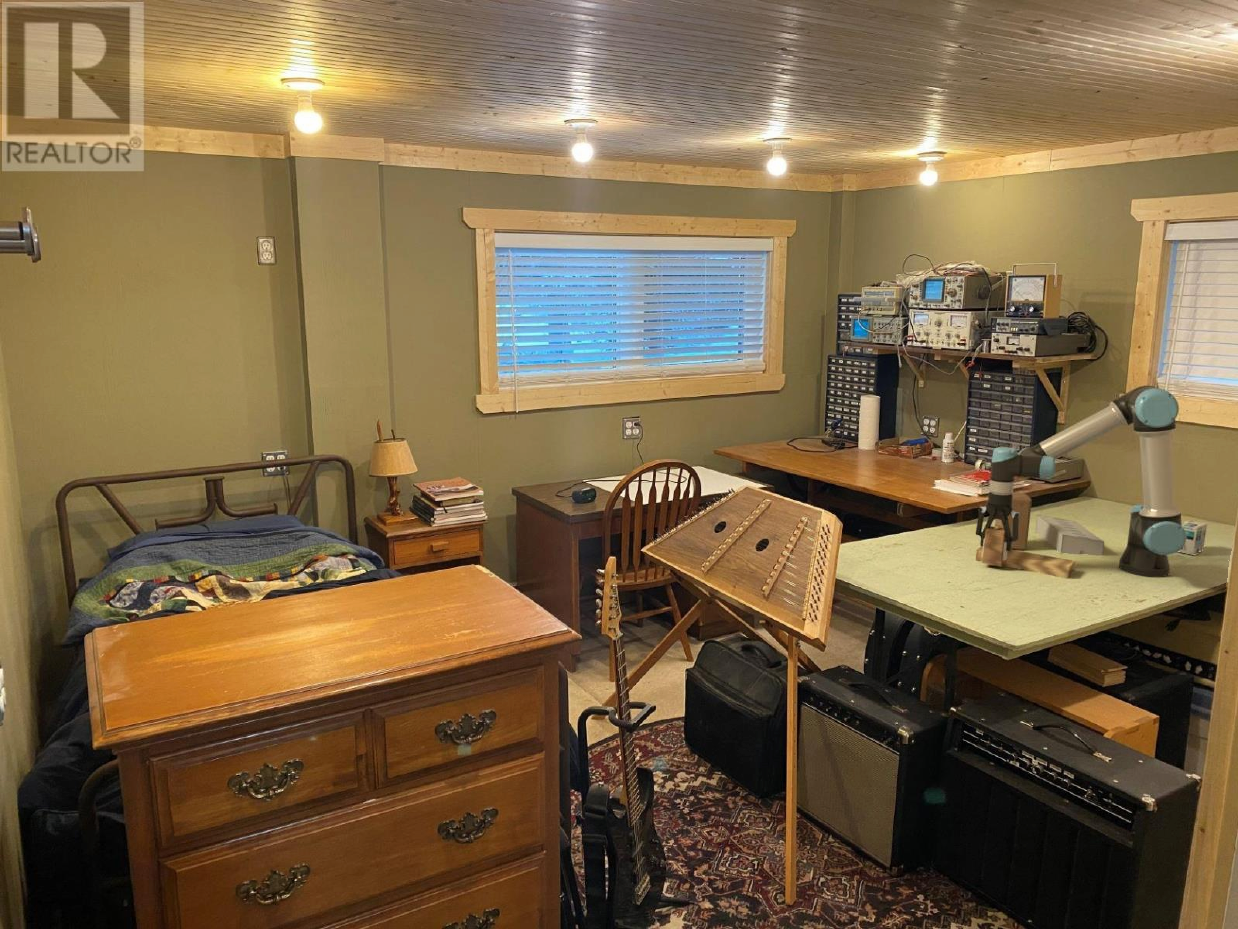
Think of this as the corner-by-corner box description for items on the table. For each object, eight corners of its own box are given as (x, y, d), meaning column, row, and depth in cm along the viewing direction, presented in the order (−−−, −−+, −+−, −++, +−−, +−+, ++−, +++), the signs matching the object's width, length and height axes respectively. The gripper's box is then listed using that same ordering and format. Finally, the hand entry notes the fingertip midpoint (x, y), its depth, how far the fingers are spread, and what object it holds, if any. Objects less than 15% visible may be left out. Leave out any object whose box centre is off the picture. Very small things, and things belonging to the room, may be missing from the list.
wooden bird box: (1012, 556, 311) (1016, 520, 309) (1000, 566, 300) (1004, 529, 297) (995, 553, 315) (998, 518, 312) (982, 563, 303) (985, 526, 301)
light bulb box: (1193, 556, 320) (1197, 528, 318) (1173, 552, 325) (1177, 524, 323) (1203, 551, 327) (1208, 523, 325) (1183, 547, 332) (1187, 519, 330)
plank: (1074, 572, 299) (1075, 560, 298) (1067, 578, 292) (1069, 566, 292) (983, 555, 318) (984, 544, 317) (975, 560, 311) (976, 549, 310)
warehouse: (1102, 556, 319) (1104, 536, 318) (1060, 554, 321) (1062, 534, 320) (1073, 535, 348) (1075, 516, 347) (1035, 533, 351) (1037, 514, 349)
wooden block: (1027, 551, 324) (1032, 498, 320) (998, 549, 326) (1003, 496, 322) (1020, 543, 333) (1025, 492, 329) (992, 542, 335) (997, 491, 331)
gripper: (1033, 494, 296) (1026, 560, 300) (975, 486, 308) (969, 550, 312) (1027, 498, 290) (1020, 565, 295) (968, 490, 302) (963, 554, 306)
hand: (994, 557), depth 303 cm, fingers closed on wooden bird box, 6 cm apart
